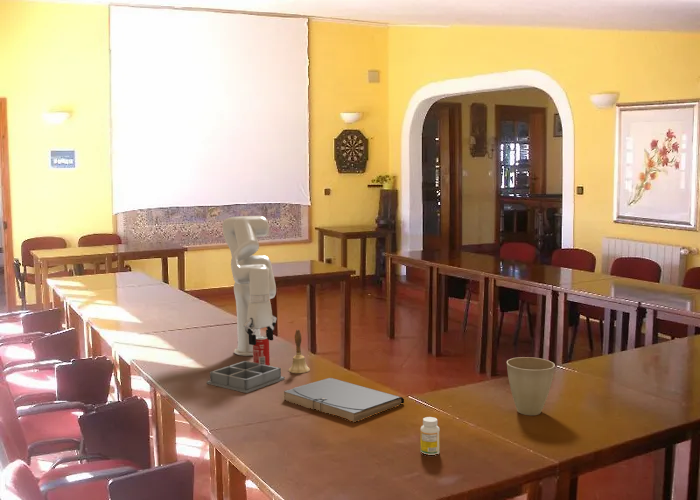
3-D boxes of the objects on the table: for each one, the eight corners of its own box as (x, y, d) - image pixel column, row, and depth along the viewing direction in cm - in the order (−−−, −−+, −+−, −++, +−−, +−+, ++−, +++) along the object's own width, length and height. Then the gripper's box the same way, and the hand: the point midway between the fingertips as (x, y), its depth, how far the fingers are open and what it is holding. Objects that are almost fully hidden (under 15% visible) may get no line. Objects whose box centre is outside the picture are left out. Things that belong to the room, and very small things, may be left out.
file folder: (283, 390, 260) (333, 375, 277) (283, 402, 260) (333, 387, 277) (353, 412, 237) (404, 395, 254) (353, 425, 237) (404, 407, 255)
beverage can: (271, 365, 304) (270, 335, 302) (267, 369, 297) (267, 339, 296) (255, 365, 304) (254, 335, 303) (251, 369, 298) (250, 339, 297)
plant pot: (527, 422, 236) (527, 372, 234) (496, 408, 249) (496, 360, 247) (564, 414, 242) (565, 365, 240) (532, 401, 256) (533, 354, 253)
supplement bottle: (432, 458, 210) (432, 424, 208) (416, 453, 213) (416, 419, 212) (443, 452, 214) (443, 418, 213) (427, 447, 217) (427, 414, 216)
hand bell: (284, 372, 294) (283, 331, 292) (294, 366, 301) (293, 326, 299) (304, 374, 291) (303, 333, 289) (313, 368, 298) (312, 328, 296)
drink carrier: (245, 370, 296) (245, 359, 296) (284, 379, 285) (284, 367, 284) (206, 383, 280) (206, 372, 280) (246, 393, 269) (246, 381, 268)
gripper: (267, 295, 306) (269, 337, 308) (236, 301, 292) (238, 345, 294) (281, 296, 302) (283, 339, 303) (251, 302, 288) (252, 347, 290)
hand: (261, 342), depth 299 cm, fingers open, 9 cm apart
